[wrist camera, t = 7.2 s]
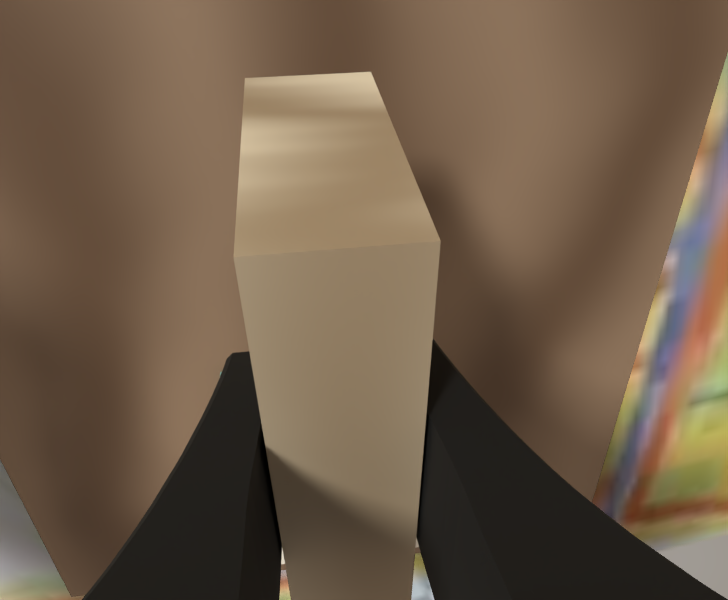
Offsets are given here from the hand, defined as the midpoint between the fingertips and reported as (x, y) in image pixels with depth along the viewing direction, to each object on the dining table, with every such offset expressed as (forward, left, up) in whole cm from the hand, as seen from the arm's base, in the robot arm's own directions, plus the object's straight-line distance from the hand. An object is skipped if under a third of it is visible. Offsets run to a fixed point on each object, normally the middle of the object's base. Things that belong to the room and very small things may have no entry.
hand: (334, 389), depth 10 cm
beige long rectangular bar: (0, -1, -3) cm, 3 cm away
